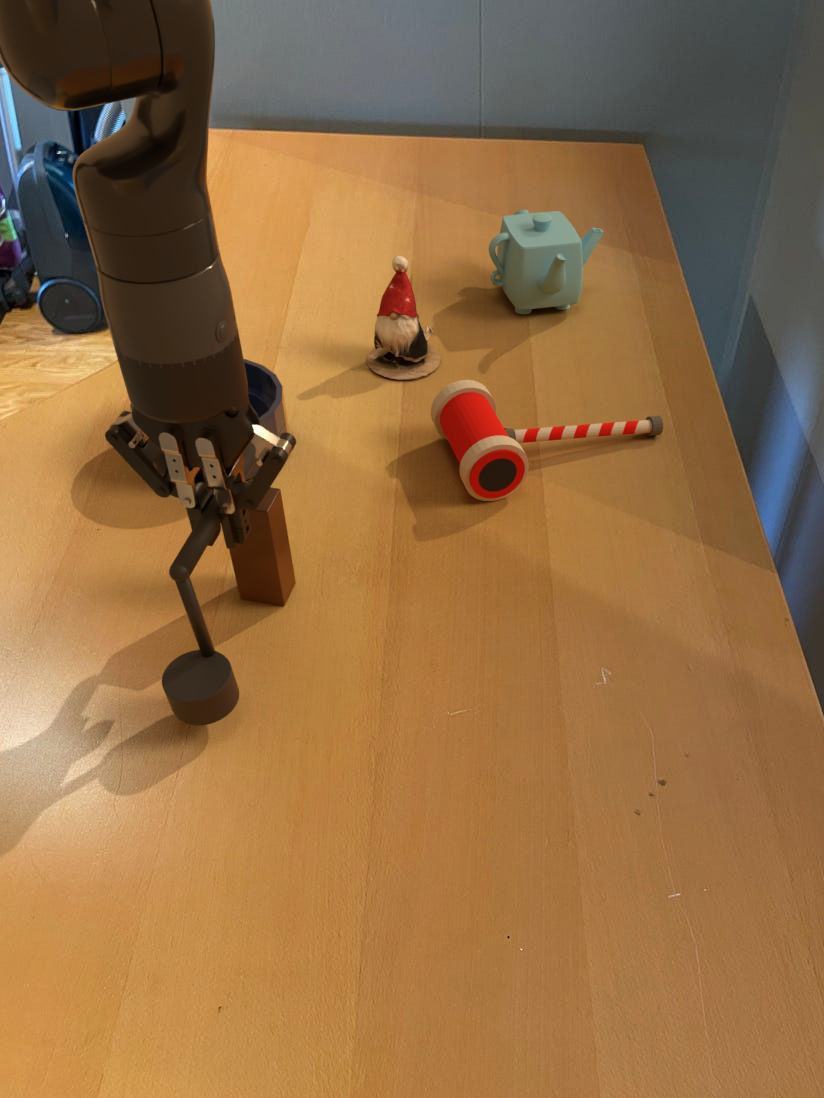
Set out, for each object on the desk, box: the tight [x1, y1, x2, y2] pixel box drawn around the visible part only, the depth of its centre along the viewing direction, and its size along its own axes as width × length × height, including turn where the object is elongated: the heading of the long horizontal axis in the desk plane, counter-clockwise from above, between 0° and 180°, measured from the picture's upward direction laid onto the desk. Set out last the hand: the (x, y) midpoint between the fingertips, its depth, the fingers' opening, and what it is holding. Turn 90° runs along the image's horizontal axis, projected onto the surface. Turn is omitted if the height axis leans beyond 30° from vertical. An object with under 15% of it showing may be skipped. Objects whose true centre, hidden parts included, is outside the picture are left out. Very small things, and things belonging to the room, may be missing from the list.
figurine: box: [366, 255, 442, 381], centre depth 107 cm, size 8×10×12 cm
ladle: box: [161, 442, 257, 726], centre depth 72 cm, size 19×5×12 cm, turn 168°
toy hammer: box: [430, 379, 664, 502], centre depth 95 cm, size 23×12×6 cm, turn 108°
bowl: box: [129, 358, 290, 488], centre depth 95 cm, size 14×14×6 cm
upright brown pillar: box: [228, 486, 297, 607], centre depth 79 cm, size 4×3×10 cm
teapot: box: [488, 209, 604, 315], centre depth 116 cm, size 18×14×10 cm
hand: (224, 539), depth 72 cm, fingers closed on ladle, 1 cm apart
